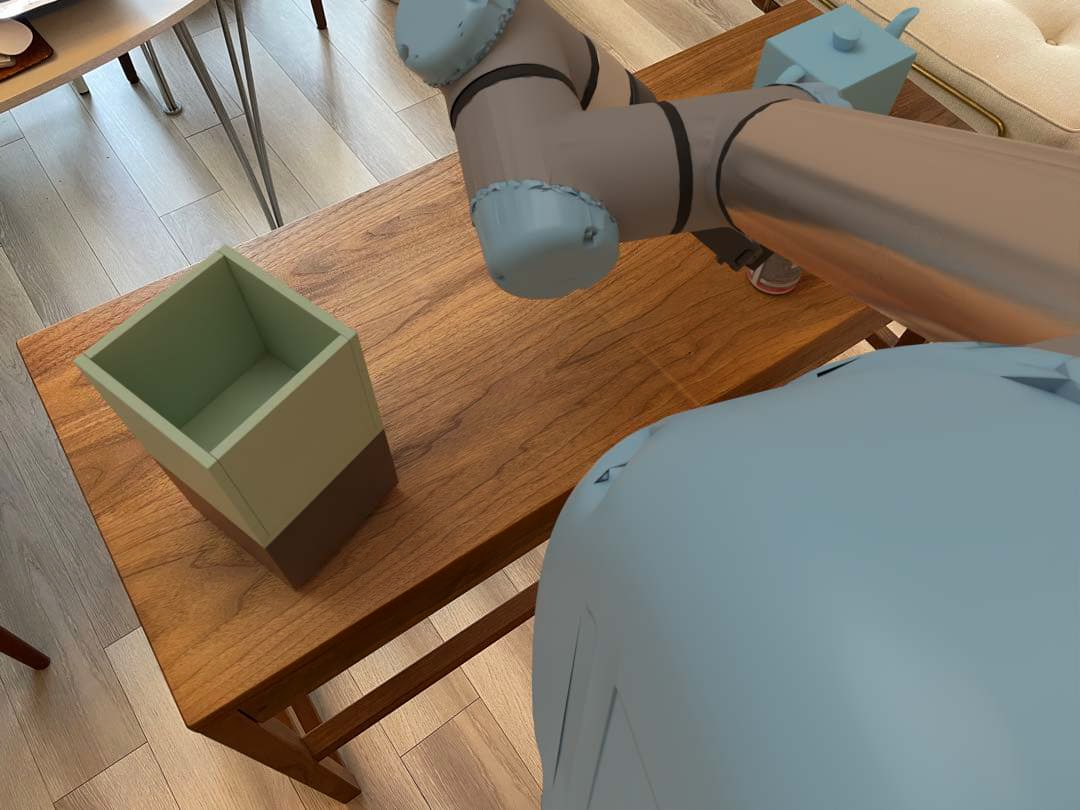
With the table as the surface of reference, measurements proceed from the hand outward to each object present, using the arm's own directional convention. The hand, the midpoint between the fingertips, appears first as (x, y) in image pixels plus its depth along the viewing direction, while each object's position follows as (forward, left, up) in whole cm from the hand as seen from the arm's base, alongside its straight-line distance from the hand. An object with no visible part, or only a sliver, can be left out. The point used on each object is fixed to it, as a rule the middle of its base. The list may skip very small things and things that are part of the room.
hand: (721, 206), depth 72 cm
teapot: (+35, +2, -15) cm, 38 cm away
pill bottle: (+9, -5, -15) cm, 18 cm away
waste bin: (-41, +17, -15) cm, 47 cm away
